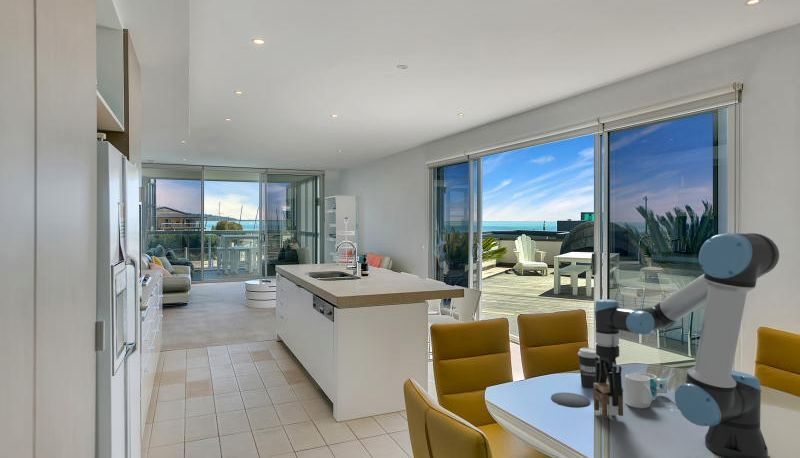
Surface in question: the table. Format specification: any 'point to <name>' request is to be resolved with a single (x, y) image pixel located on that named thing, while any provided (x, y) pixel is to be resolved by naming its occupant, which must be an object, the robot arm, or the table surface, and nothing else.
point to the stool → (605, 398)
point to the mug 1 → (637, 391)
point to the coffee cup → (587, 366)
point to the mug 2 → (655, 384)
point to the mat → (570, 399)
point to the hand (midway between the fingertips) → (608, 410)
